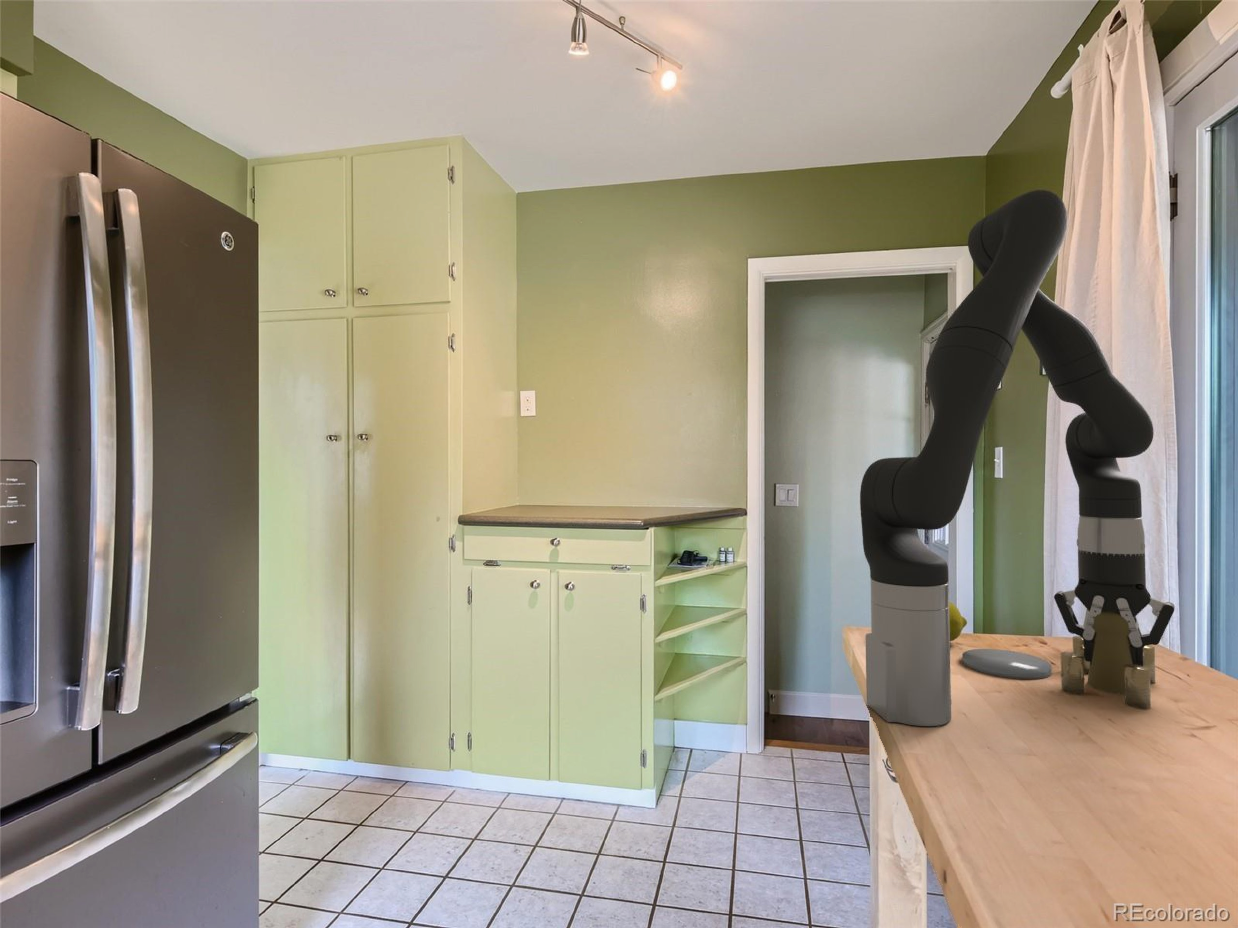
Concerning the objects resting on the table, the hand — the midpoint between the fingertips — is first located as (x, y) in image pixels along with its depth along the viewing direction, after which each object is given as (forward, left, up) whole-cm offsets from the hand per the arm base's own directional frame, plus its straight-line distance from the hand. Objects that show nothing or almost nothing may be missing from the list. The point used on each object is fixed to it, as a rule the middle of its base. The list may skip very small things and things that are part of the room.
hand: (1113, 667), depth 87 cm
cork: (0, 0, -3) cm, 3 cm away
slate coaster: (-9, +10, -3) cm, 14 cm away
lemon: (-13, +24, -3) cm, 28 cm away
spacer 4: (+7, +2, -3) cm, 8 cm away
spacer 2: (+1, +7, -3) cm, 8 cm away
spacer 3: (-2, -7, -3) cm, 7 cm away
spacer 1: (-7, -1, -3) cm, 7 cm away
